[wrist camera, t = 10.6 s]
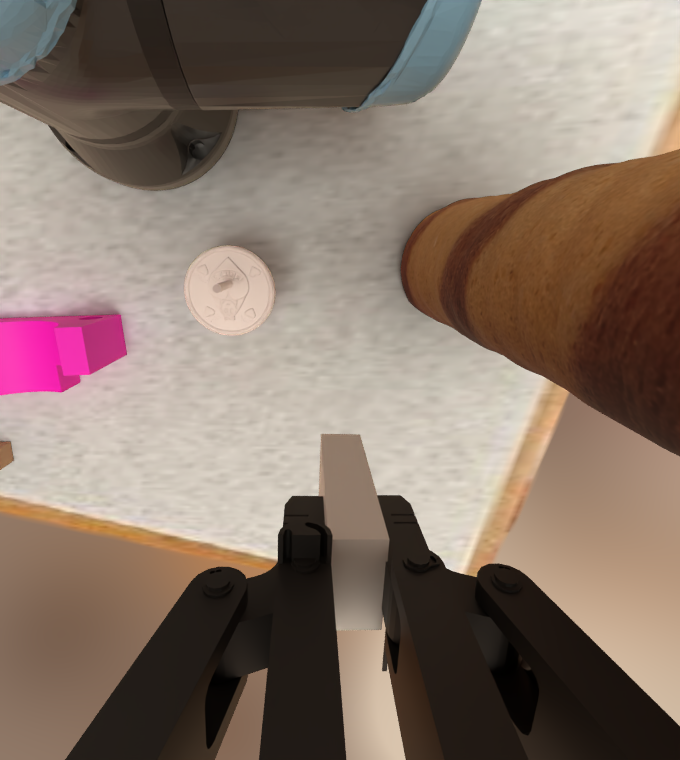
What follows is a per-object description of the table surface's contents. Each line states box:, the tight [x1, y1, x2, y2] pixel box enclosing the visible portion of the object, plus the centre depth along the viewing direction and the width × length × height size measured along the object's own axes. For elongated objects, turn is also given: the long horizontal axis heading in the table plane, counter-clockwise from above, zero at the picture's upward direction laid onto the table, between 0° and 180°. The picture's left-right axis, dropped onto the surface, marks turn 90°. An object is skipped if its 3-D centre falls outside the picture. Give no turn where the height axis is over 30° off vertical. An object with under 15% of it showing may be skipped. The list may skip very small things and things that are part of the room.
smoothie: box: [184, 245, 276, 336], centre depth 34 cm, size 6×6×14 cm
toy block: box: [0, 315, 127, 395], centre depth 38 cm, size 15×6×8 cm, turn 91°
